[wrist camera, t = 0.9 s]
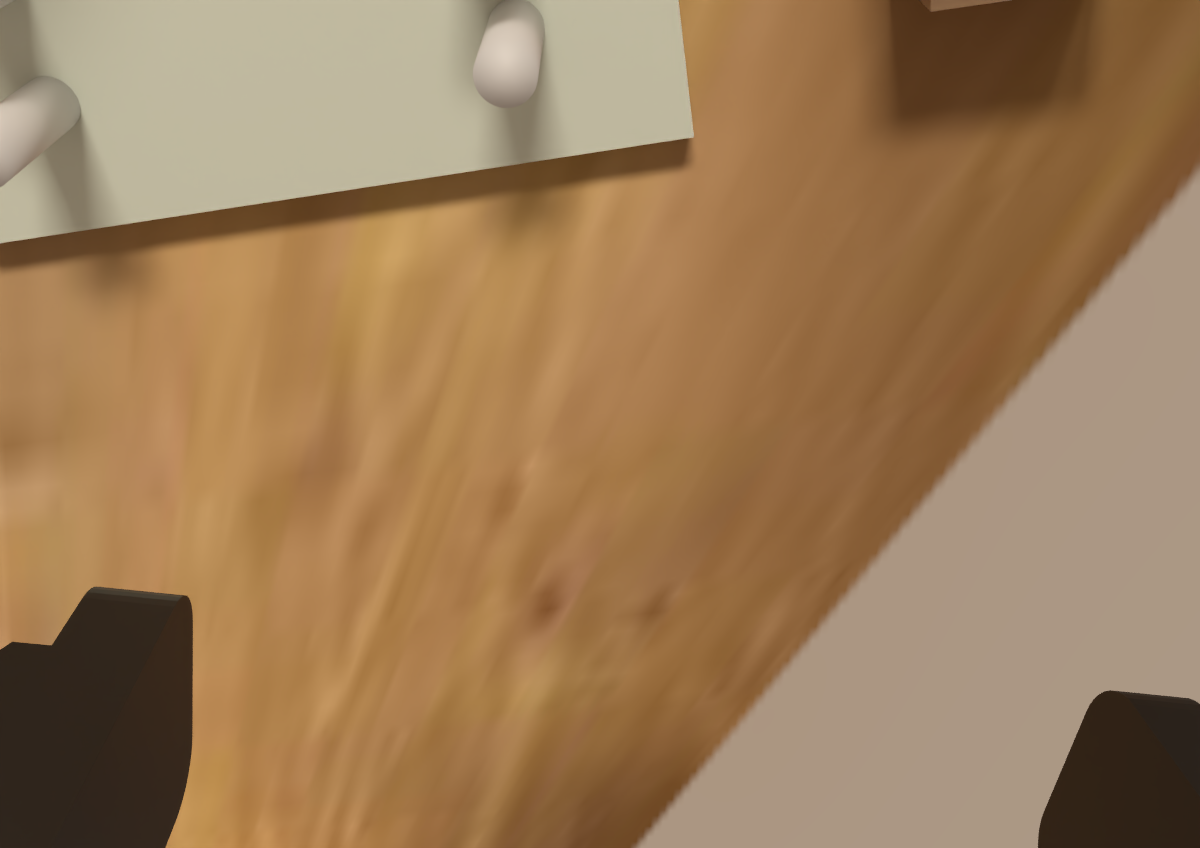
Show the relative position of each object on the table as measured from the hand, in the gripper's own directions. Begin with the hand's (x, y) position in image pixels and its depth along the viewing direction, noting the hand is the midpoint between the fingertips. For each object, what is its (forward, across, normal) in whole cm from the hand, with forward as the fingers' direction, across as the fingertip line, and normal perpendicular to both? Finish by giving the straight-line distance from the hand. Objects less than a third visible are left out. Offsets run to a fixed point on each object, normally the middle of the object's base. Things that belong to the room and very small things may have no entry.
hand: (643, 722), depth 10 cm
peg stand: (+23, +8, -3) cm, 24 cm away
